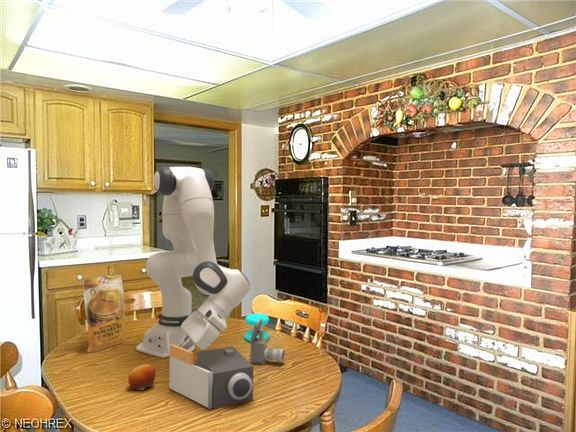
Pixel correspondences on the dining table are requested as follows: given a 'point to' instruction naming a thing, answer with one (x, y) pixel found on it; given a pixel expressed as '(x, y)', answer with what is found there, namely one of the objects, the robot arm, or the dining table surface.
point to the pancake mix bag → (104, 311)
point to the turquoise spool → (252, 320)
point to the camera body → (228, 375)
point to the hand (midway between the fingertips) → (180, 350)
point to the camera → (263, 347)
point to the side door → (190, 377)
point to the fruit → (142, 377)
